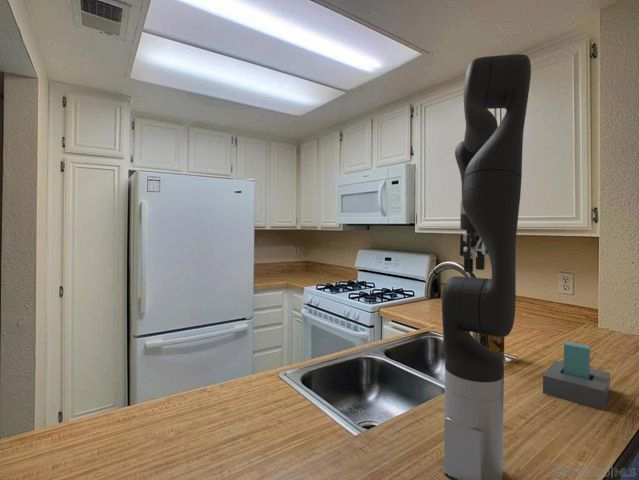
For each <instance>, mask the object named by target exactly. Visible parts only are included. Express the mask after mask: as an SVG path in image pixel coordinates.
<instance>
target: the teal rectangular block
mask: <svg viewBox="0 0 639 480" xmlns="http://www.w3.org/2000/svg"><path fill="white" fill-rule="evenodd" d="M563 362H564V374H567V375H571V376H575V377H579V378H583V379H587V380H590V368H591V346H590V345H586V344H581V343H576V342H575V343H574V342H570V341H565V342H564V344H563Z"/></svg>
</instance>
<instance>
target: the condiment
mask: <svg viewBox="0 0 639 480" xmlns="http://www.w3.org/2000/svg"><path fill="white" fill-rule="evenodd" d="M488 340H489V349H490V350H492V351H494V352H495V353H497V354H498V355H499V356H500V357H501V358H502V360H503V363H504V364H505V363H506V355H505V337H497V336H491V335H488Z"/></svg>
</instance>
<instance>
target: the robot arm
mask: <svg viewBox="0 0 639 480" xmlns="http://www.w3.org/2000/svg"><path fill="white" fill-rule="evenodd" d="M531 77H532V64H531V59H530V58H529V56H528V55H527V54H522V53H516V54H515V53H514V54H512V53H511V54H502V55H501V54H500V55H489V56H488V55H487V56H481V57H477V58H475V59H473V60H472V61H470V63H469V65H468V67H467V70H466V73H465V77H464V84H463V85H464V86H463V111H464V119H465V131H464V133H465V134H464V138H463V141H461V142H459V143H458V144H457V146H456V148H455V150H454V156H455V160H456V164H457V167H458V171H459V174H460V179H461V180H460V182H461V200H460V218H459V219H460V220H459V221H460V227H459V228H460V230H462V231H463V230H465V231H466V232H465V233H460V238H459V239H460V241H459V256H460V257H462V259H463V272H464V273H473V272H474V256H475V269H476V270H478V271H479V270H480V271H484V270H485V267H486V266H485V265H486V264H485V260H486V256H487V255H488V257H489V260H490V266H491V267H490V268H491V278H483V277H474V276H473V277H471V276H460V275H459V276H451V277H449V278H448V279H447V281H446V282H445V284H444V286H443V290H442V294H441V319H442V340H443V341H442V342H443V343H442V344H443V345H442V346H443V347H442V348H443V349H442V350H443V356H444V357H443V358H444V411H443V412H444V414H443V415H444V418H443V419H444V421H443V422H444V424H443V427H444V428H443V429H444V434H443V473H444V474H445V473H446V474H445V475H447V474H448V475H447V476H449V477H450V476H451V477H450V478H452V477H453V478H452V479H454V478H455V479H454V480H456V479H457V480H503V478H502V477H504V398H505V397H504V395H505V394H504V392H505V391H504V388H505V387H504V386H505V384H504V383H505V381H504V380H505V363H503V360H502V358H501V357H500V356H499V355H498V354H497V353H495V352H494V351H492V350H490V349H488V348H487V347H485V346H483V344H482V343H480V342H479V341H478V340H477V339H475V338H474V336H472V334H471V333H475V334H481V335H484V334H486V335H491V336H497V337H504V338H505V337H507V336H509V335H510V333H511V332H512V330H513V327H514V323H515V318H516V299H517V297H516V295H517V293H516V292H517V291H516V286H517V285H516V284H517V283H516V275H517V274H516V271H517V270H516V269H517V267H516V263H517V262H516V260H517V258H516V252H517V251H516V249H517V233H518V222H519V212H520V202H521V193H522V177H523V176H522V175H523V174H522V172H523V171H522V170H523V149H524V148H523V147H524V145H523V143H524V142H523V141H524V130H525V122H526V121H525V120H526V114H527V109H528V101H529V100H528V99H529V93H530V86H531V79H532V78H531ZM492 109H494V110H495V109H496V110H497V109H505V110H506V112H505V114H504V116H503V117H502V119H501V122H500V123H499V124H498V121H497V119H496V116H495V115H494V114H493V113H492V112H491V111H490V110H492Z"/></svg>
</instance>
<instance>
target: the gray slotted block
mask: <svg viewBox="0 0 639 480" xmlns="http://www.w3.org/2000/svg"><path fill="white" fill-rule="evenodd" d="M610 391H611V372H608V371H603V370H600V369H595V368H591V367H590V380H587V379H583V378H579V377H575V376H571V375H567V374H564V361H558V360H553V362H552V363H551V365H550V366H549V367H548V368H547V370H546V371H545V372H544V374H543V375H542V394H545V395H549V396H552V397H556V398H560V399H563V400H566V401H569V402H572V403H573V402H574V403H577V404H581V405H584V406H587V407H591V408H594V409H598V410H601V411H605V408H606V405H607V402H608V398H609V394H610Z"/></svg>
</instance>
